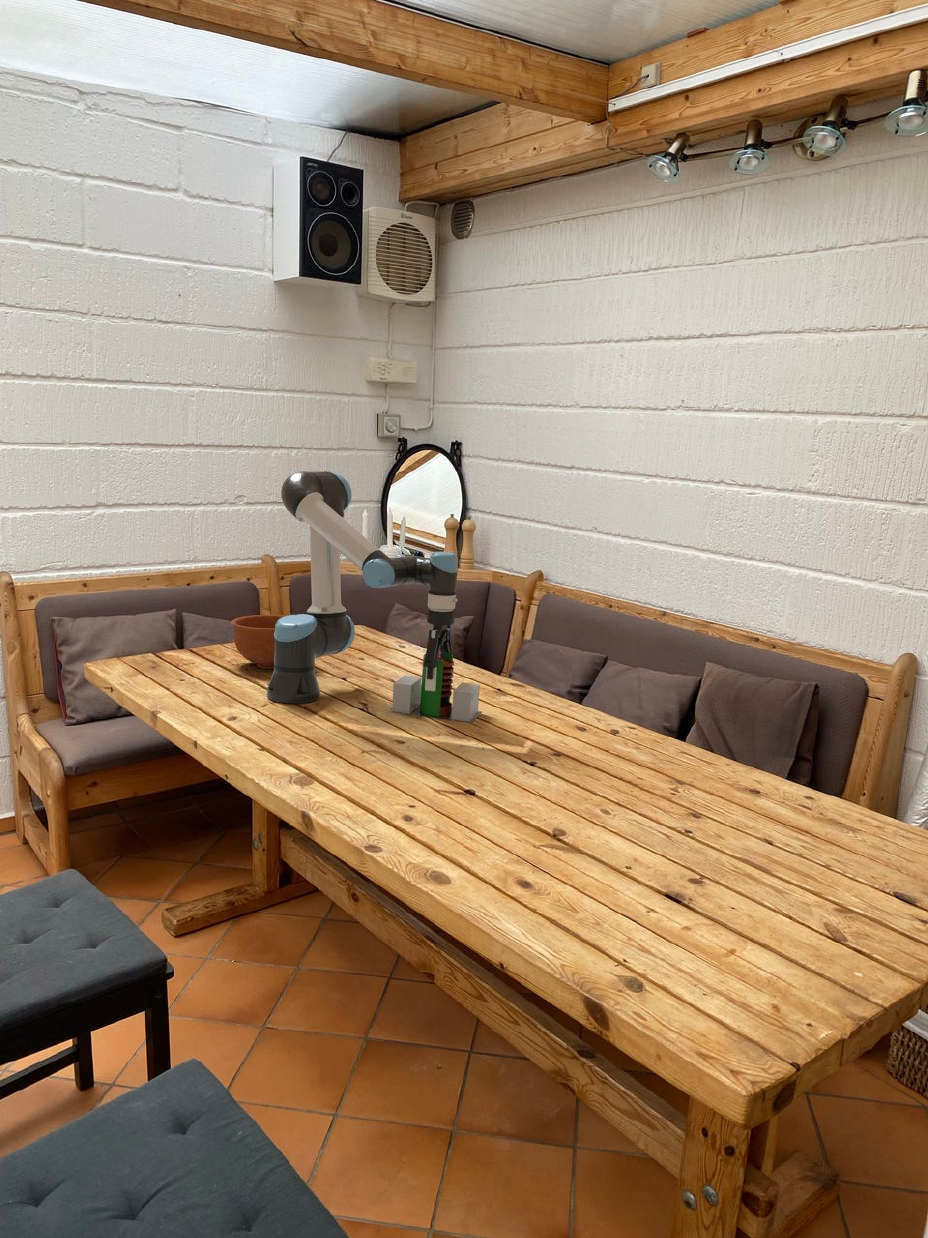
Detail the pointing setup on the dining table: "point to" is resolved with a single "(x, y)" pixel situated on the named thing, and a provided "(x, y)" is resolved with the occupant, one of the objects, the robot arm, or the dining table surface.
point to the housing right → (465, 701)
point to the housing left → (406, 694)
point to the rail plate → (446, 717)
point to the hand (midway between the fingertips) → (437, 684)
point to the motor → (438, 687)
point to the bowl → (256, 638)
